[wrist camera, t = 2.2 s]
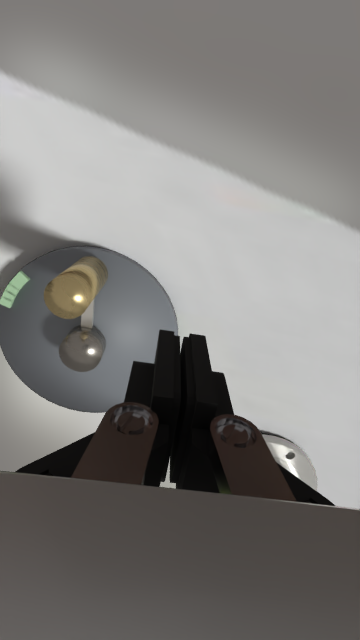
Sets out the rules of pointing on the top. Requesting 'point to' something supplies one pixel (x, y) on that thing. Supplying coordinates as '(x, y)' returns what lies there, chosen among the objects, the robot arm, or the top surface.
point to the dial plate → (109, 317)
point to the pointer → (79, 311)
